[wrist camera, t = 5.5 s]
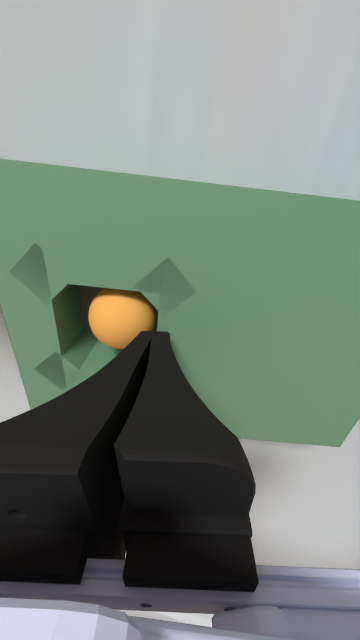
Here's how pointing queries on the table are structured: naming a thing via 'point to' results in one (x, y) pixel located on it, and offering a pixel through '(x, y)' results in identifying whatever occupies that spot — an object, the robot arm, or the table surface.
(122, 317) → the ball
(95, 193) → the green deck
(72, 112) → the table surface
